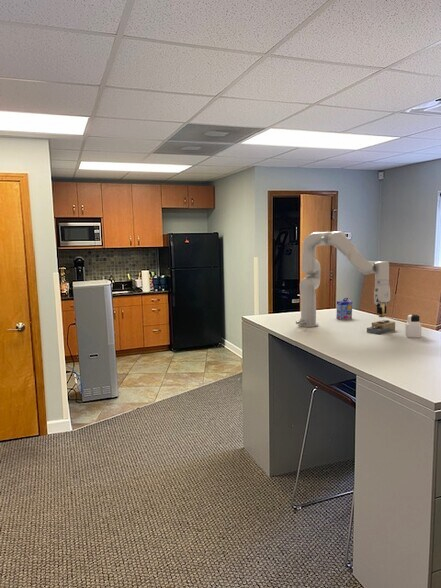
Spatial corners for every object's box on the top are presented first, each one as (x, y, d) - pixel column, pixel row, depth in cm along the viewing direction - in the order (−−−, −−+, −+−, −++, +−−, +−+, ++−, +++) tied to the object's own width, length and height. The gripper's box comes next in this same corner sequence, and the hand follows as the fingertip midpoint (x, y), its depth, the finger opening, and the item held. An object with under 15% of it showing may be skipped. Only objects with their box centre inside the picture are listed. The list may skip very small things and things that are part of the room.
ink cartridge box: (341, 319, 287) (341, 298, 285) (335, 318, 292) (336, 297, 290) (352, 318, 291) (352, 297, 290) (347, 317, 296) (347, 296, 295)
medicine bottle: (418, 334, 238) (419, 314, 237) (421, 337, 231) (421, 316, 230) (405, 334, 240) (405, 313, 239) (407, 337, 233) (407, 316, 232)
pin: (382, 317, 247) (382, 300, 245) (377, 316, 249) (377, 300, 248) (385, 316, 249) (385, 300, 247) (380, 316, 251) (381, 299, 250)
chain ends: (378, 334, 242) (378, 324, 242) (366, 332, 249) (366, 322, 248) (395, 330, 251) (395, 321, 251) (383, 328, 258) (383, 319, 257)
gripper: (378, 284, 239) (378, 316, 241) (396, 281, 248) (395, 312, 250) (367, 283, 245) (367, 314, 247) (384, 281, 254) (384, 311, 256)
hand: (381, 313), depth 249 cm, fingers closed on pin, 3 cm apart
